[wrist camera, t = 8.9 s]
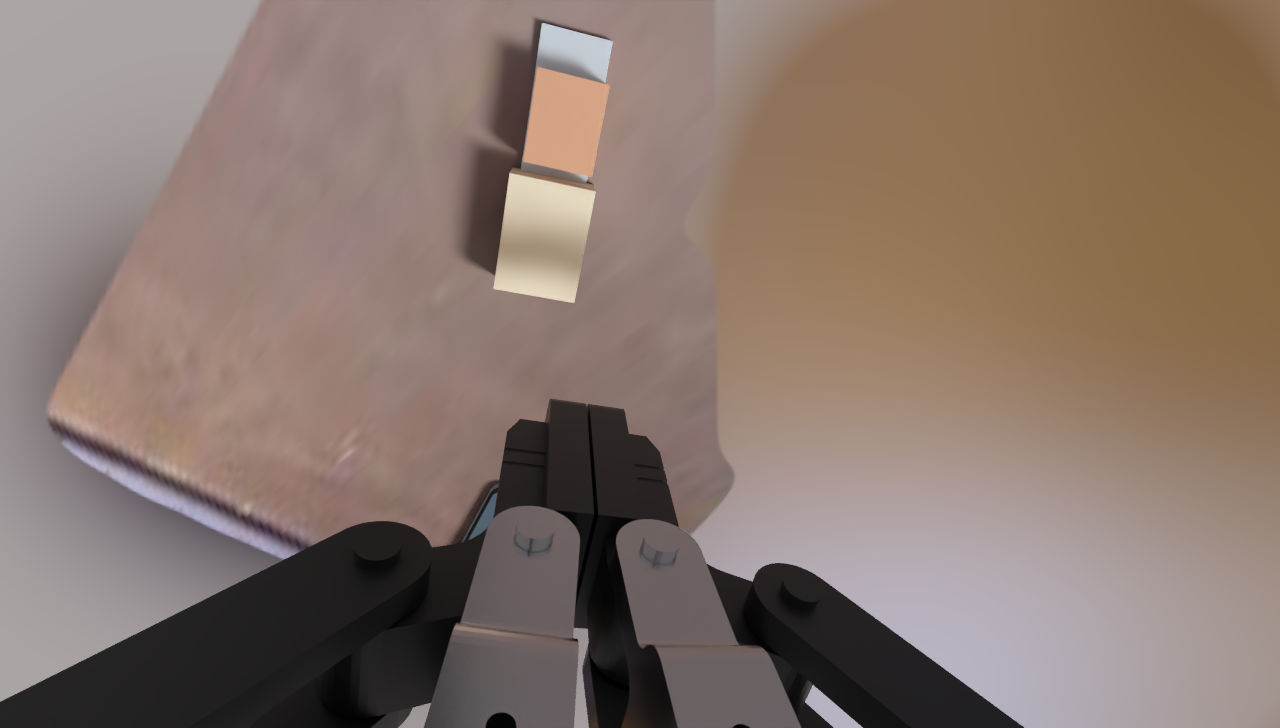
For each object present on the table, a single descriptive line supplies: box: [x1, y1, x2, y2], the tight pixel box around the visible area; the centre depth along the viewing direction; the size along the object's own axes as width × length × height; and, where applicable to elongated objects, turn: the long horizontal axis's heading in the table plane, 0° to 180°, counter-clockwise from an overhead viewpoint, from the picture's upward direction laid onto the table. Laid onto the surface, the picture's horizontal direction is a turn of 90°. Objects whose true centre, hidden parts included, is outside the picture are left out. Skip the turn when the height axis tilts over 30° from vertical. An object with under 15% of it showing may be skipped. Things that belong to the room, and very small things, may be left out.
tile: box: [523, 67, 610, 177], centre depth 36 cm, size 5×4×2 cm
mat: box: [521, 23, 613, 184], centre depth 36 cm, size 8×4×1 cm, turn 167°
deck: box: [494, 167, 596, 303], centre depth 38 cm, size 7×5×2 cm
